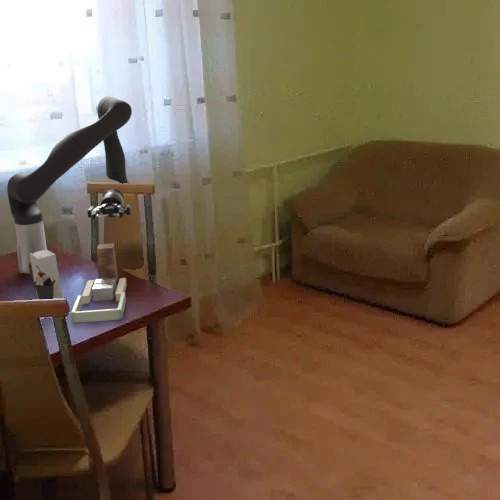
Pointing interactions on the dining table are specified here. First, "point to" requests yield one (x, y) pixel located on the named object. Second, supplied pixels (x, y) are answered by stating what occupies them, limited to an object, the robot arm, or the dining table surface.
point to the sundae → (44, 286)
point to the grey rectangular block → (103, 292)
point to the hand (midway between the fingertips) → (107, 216)
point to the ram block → (107, 261)
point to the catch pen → (97, 312)
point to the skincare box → (46, 268)
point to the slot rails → (90, 283)
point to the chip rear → (106, 281)
